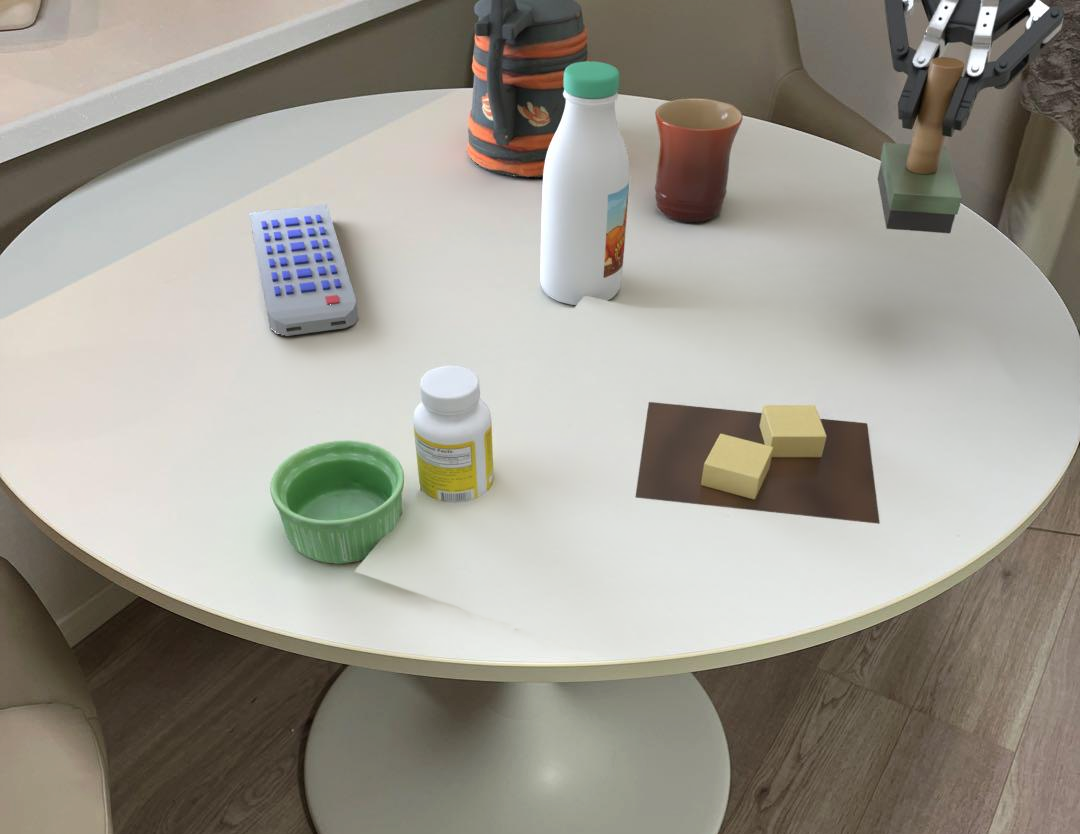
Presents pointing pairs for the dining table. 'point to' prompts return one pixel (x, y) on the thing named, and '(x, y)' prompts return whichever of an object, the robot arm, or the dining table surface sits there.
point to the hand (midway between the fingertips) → (927, 126)
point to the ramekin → (338, 499)
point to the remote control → (302, 271)
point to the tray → (790, 483)
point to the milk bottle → (585, 190)
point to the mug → (694, 157)
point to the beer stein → (521, 80)
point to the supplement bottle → (453, 436)
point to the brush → (923, 162)
